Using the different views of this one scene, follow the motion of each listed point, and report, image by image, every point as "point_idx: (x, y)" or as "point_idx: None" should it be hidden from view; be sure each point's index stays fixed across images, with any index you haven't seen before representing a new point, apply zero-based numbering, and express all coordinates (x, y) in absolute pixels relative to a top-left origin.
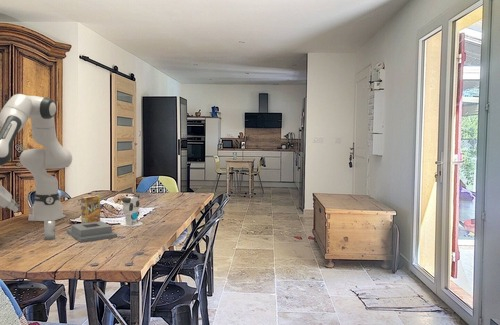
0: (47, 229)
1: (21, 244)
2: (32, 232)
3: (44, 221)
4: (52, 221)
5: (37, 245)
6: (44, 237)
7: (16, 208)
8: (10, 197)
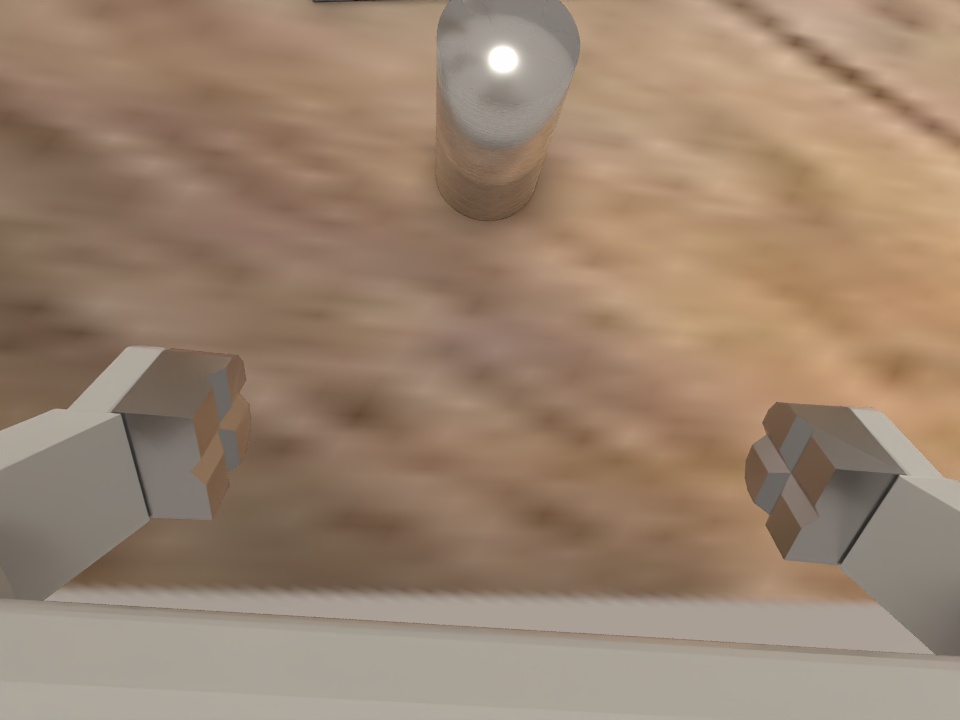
0: (550, 136)
1: (597, 436)
2: (69, 285)
3: (500, 97)
4: (552, 14)
5: (706, 306)
6: (494, 211)
7: (901, 452)
8: (509, 702)
